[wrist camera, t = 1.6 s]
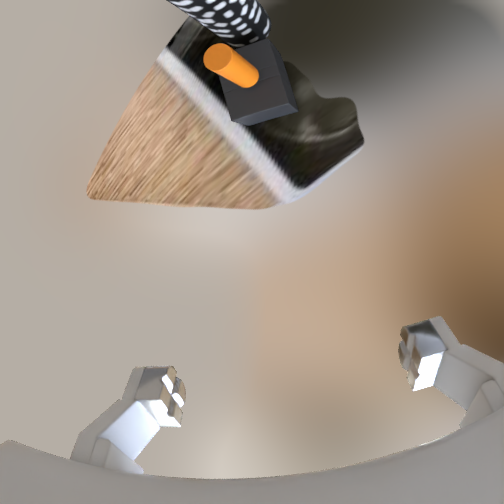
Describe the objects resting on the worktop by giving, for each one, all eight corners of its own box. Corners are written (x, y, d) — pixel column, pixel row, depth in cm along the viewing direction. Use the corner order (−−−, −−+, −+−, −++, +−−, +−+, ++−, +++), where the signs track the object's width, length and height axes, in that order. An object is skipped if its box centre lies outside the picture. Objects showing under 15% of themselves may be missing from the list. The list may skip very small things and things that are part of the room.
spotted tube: (213, 24, 39) (143, -25, 21) (255, -1, 36) (200, -65, 18) (236, 57, 40) (167, 10, 22) (280, 31, 37) (233, -34, 19)
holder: (232, 69, 41) (213, 57, 35) (280, 53, 38) (268, 38, 32) (248, 125, 43) (231, 121, 37) (298, 111, 41) (289, 103, 34)
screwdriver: (252, 83, 41) (200, 50, 26) (271, 76, 40) (228, 38, 25) (257, 101, 42) (206, 75, 26) (277, 95, 41) (235, 64, 25)
